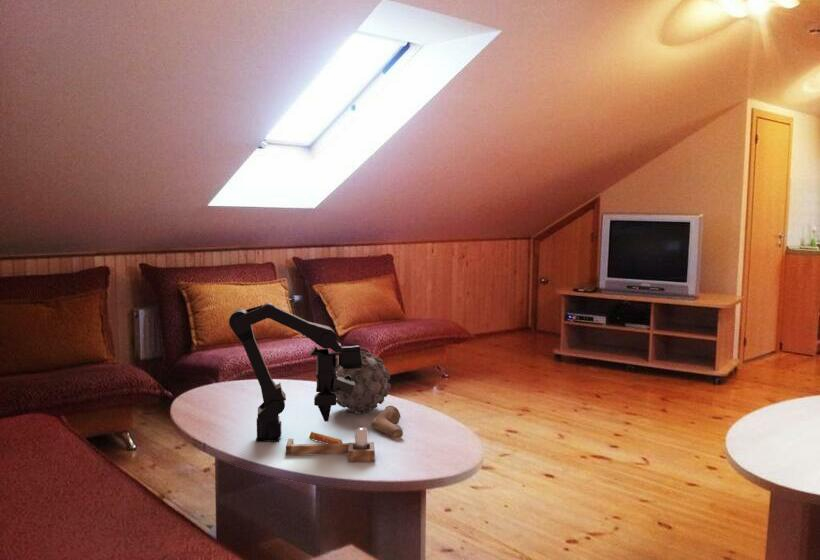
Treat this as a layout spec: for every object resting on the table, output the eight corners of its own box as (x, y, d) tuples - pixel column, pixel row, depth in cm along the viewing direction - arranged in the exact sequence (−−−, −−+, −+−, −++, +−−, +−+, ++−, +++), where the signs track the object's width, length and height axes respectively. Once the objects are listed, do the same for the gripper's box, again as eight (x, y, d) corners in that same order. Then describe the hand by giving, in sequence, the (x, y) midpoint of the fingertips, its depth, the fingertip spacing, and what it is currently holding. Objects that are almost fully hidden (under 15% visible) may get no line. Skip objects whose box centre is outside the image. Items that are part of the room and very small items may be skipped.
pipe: (391, 425, 206) (419, 415, 212) (362, 411, 220) (389, 402, 225) (394, 446, 208) (422, 435, 213) (365, 431, 221) (392, 421, 227)
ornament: (378, 400, 250) (378, 344, 249) (397, 416, 232) (398, 356, 230) (323, 406, 244) (323, 348, 242) (338, 422, 225) (338, 360, 223)
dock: (283, 463, 188) (283, 452, 188) (288, 447, 201) (287, 437, 200) (374, 461, 190) (374, 450, 189) (373, 445, 203) (373, 435, 202)
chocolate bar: (337, 448, 201) (337, 441, 201) (308, 440, 209) (307, 432, 208) (344, 446, 203) (344, 438, 203) (314, 438, 211) (314, 430, 210)
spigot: (355, 459, 191) (355, 430, 190) (355, 455, 194) (355, 426, 194) (367, 459, 191) (367, 430, 191) (367, 455, 195) (367, 426, 194)
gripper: (353, 376, 201) (353, 430, 203) (353, 362, 220) (353, 412, 221) (314, 377, 201) (314, 431, 202) (317, 363, 219) (317, 412, 221)
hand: (326, 421), depth 212 cm, fingers closed
